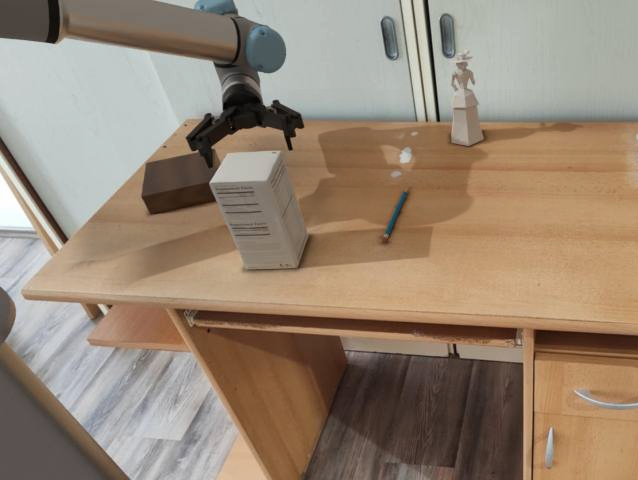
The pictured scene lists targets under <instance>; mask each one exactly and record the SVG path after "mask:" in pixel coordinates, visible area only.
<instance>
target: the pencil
mask: <svg viewBox="0 0 638 480" xmlns="http://www.w3.org/2000/svg"><path fill="white" fill-rule="evenodd" d="M407 194H408V188H407V187H406V188H405V190H403V192H402V193H401V196H400V199H399V201H398V203H397V205H396V208H395V210H394V212H393V214H392V216H391V219H390V220H389V223H388V226H387V228H386V230H385V233H384V235H383V237H382V239H381V241H382V242H383V243H386V242H387V240H388V238H389V235H390V233H391V231H392V229H393V226H394V224H395V222H396V219H397V217H398V215H399V213H400V211H401V208H402V207H403V203H404V201H405V199H406V196H407Z"/></svg>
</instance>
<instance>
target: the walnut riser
mask: <svg viewBox="0 0 638 480" xmlns="http://www.w3.org/2000/svg"><path fill="white" fill-rule="evenodd" d="M212 150H213V168H208V166H207V163H206V161H205V159H204V156H203V157H201V156H200V154H199V152H198V151H195V152H191V153H188V154H182V155H177V156H172V157H168V158H162V159H159V160H153V161H149V162H148V161H147V162H145V169H144V175H143V182H142V189H141V195H140V196H141V199H142V201H143V203H144V205H145V207H146V209H147V211H148V212H149V214H150V215H155V214H158V213H164V212H168V211H171V210H172V211H173V210H178V209H181V208H185V207H191V206H195V205H199V204H205V203H208V202H213V201H216V199H215V196H214V194H213V192H212V190H211V187H210V185H209V183H210V181H211V180H212V178H213V176H214V175H215V173H216V172H217V170H218V168H219V167H220V165H221V163H222V162H221V161H220V160H221V159H220V158H219V155H218V153H217V150H216V148H212Z"/></svg>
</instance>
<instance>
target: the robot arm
mask: <svg viewBox="0 0 638 480" xmlns="http://www.w3.org/2000/svg"><path fill="white" fill-rule="evenodd" d="M0 39H5V40H6V39H7V40H18V41H28V42H36V43H44V44H52V45H59V44H60V43H61V42H62V41H63V40H64V39H68V40H74V41H80V42H87V43H95V44H101V45H107V46H113V47H118V48H119V47H121V48H124V49H125V48H126V49H132V50H138V51H145V52H151V53H158V54H163V55H171V56H178V57H185V58H190V59H196V60H202V61H209V62H212V63H213V66H214V69H215V72H216V74H217V77H218V80H219V83H220V87H221V104H222V106H221V107H222V112H221V113H220V114H219V115H216V116H214V115H213V114H212V112H206V113H205V114H204V116H203V119H202V120H201V121H200V122H199V123H198V124H197V125H196V126H195V127H194V128H193V129H192V130H191V131H190V132H189V133H188V134H187V135H186V136H185V140H186V142H187V145H188V146H189V149H190V151H191V152H199V154H200V156H201V157H203V156H204V159H205V161H206V163H207V166H208V168H213V150H212V149H213V147H214V146H215V145H216V144H217V143H219V142H221V140H223V139H224V138H226V137H227V136H229V135H230V136H233V135H234V134H236V133H238V131H242V130H251V129H254V128H258V127H259V128H261V129H262V128H263V129H266V128H271V129H275V130H278V131H282V132H283V137H284V140H285V143H286V147H287V150H288V152H291V151H293V150H294V148H293V144H292V139H293V138H296V137H297V132H296V129H297V130H303V129H305V124H304V119H303V116H302V113H300V112H299V111H296V110H295V109H293V108H290V107H288V106H286V105H285V104H283V103H281V101H280V100H279V99H273V100H272V103H270V105H265V104H264V100H263V99H264V98H263V93H262V90H261V79H260V75H259V73H263V74H273V73H276V72H278V71H279V70H280V69H281V68H282V67H283V66H284V64H285V61H286V58H287V45H286V43H285V41H284V39H283V36H281V34H280V33H279V31H276V30H275V29H273V28H272V27H270V26H269V25H268V24H262V23H258V22H256V21H253V20H250V19H248V18H246V17H244V16H241V15H239V10H238V8H237V6H236V3H235V1H234V0H197V1H195V3H194V6H193V8H191V7H187V6H182V5H176V4H173V3H168V2H165V1H159V0H0Z"/></svg>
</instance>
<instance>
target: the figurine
mask: <svg viewBox="0 0 638 480" xmlns="http://www.w3.org/2000/svg"><path fill="white" fill-rule="evenodd" d="M468 54H470V51H469V50H468V49H467V48H464V49H463V52H458V53H457V55H455V59H453V60H451V61H449V63H453V64H455V65H456V68H457V69H456V70H454V71H453V72H452V73H451V83H450V86H451V87H452V88H453V90H454V93H453V95H452V99H451V102H450V104H451V105H450V108H452V125H451V133H450V134H451V135H450V137H451V138H450V139H451V144H456V145H461V146H465V147H469V146H472V145H475V144H477V143H480V142H481V141H484V139H485V138H484V134H483V131H482V130H483V129H482V126H481V122H480V120H479V111H478V110H479V109H478V105H480V103H479V101H478V98H477V97H476V94H475V93H474V91H473V89H471V88H468V83H469V81H470V82H471V84H472V85H473V86H475V84H476V80H477V78H474V72H473V71H472V70H471V69H468V68H467V67H468V66H469V64H468V63H469V62H471V61H472V60H473V56H471V55H468ZM455 80H456V82H457V84H458V86H459V88H458V86H457V85H456V84H455Z"/></svg>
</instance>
